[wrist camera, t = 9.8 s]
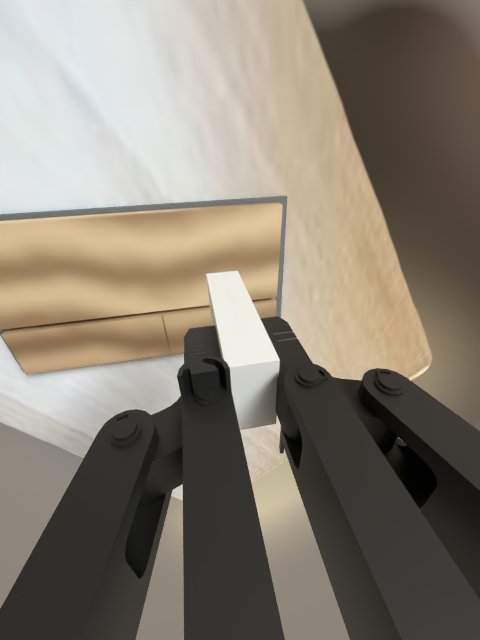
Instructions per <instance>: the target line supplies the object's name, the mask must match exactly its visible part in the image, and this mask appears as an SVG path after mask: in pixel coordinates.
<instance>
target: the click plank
mask: <svg viewBox="0 0 480 640" xmlns="http://www.w3.org/2000/svg"><path fill="white" fill-rule="evenodd" d="M282 208H283V205H282V204H281V203H280V202H272V203H257V204H242V205H227V206H213V207H198V208H183V209H169V210H154V211H139V212H125V213H110V214H95V215H80V216H66V217H51V218H36V219H22V220H7V221H0V330H3V329H11V328H20V327H28V326H37V325H45V324H54V323H62V322H71V321H79V320H88V319H96V318H105V317H113V316H122V315H130V314H139V313H147V312H156V311H164V310H173V309H181V308H190V307H198V306H207V305H210V304H209V295H208V285H207V276H206V274H209V273H219V272H229V271H238V272H239V274H240V277H241V279H242V281H243V283H244V285H245V287H246V289H247V291H248V294H249V296H250V298H251V300H257V299H266V298H274V297H277V287H278V271H279V255H280V240H281V224H282Z"/></svg>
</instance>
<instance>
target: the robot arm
mask: <svg viewBox="0 0 480 640" xmlns="http://www.w3.org/2000/svg"><path fill="white" fill-rule="evenodd" d="M206 276H207V285H208V295H209V304H210V314H211V323H212V326H205V327H197V328H189V330H188V331H187V333H186V335H185V336H184V364H183V366H182V367H181V368H180V369H179V372H178V375H177V378H178V383H179V387H180V392H181V397H180V398H179V399H178V400H177V401H176V402H175V403H174V404H173V405H171V406H170V407H168V408H166V409H164V410H162V411H160V412H158V413H155V414H153V415H150V414H148V413H147V412H146V411H142V410H137V409H136V410H128V411H124V412H122V413H120V414H117V415H115V416H114V417H113V418H111V419H110V420H109V421H107V422H106V423H105V424H104V426H103V427H102V428H101V430H100V431H99V432H98V434H97V436H96V438H95V440H94V441H93V443H92V445H91V447H90V449H89V450H88V452H87V454H86V456H85V458H84V459H83V461H82V463H81V465H80V467H79V468H78V470H77V472H76V474H75V476H74V477H73V479H72V481H71V483H70V485H69V487H68V488H67V490H66V492H65V494H64V495H63V497H62V499H61V501H60V503H59V504H58V506H57V508H56V510H55V512H54V513H53V515H52V517H51V519H50V521H49V522H48V524H47V526H46V528H45V530H44V531H43V533H42V535H41V537H40V539H39V541H38V542H37V544H36V546H35V548H34V549H33V551H32V553H31V555H30V557H29V558H28V560H27V562H26V564H25V566H24V567H23V569H22V571H21V573H20V575H19V576H18V578H17V580H16V582H15V584H14V585H13V587H12V589H11V591H10V593H9V595H8V596H7V598H6V600H5V602H4V604H3V605H2V607H1V609H0V640H135V639H136V635H137V631H138V627H139V623H140V619H141V614H142V611H143V607H144V603H145V599H146V595H147V590H148V587H149V583H150V578H151V574H152V570H153V566H154V562H155V558H156V554H157V550H158V546H159V541H160V538H161V534H162V530H163V526H164V521H165V517H166V514H167V509H168V506H169V501H170V497H171V493H172V490H173V489H175V488H176V487H178V486H180V485H181V484H183V549H184V551H183V554H184V640H285V639H284V634H283V630H282V625H281V620H280V616H279V611H278V606H277V602H276V597H275V592H274V587H273V583H272V578H271V573H270V569H269V564H268V559H267V555H266V550H265V545H264V541H263V536H262V531H261V527H260V522H259V517H258V513H257V508H256V503H255V499H254V494H253V489H252V485H251V480H250V475H249V470H248V466H247V461H246V456H245V452H244V447H243V442H242V438H241V433H240V430H243V429H248V428H254V427H259V426H265V425H270V424H276V414H277V416H278V418H279V421H280V424H281V432H280V444H279V448H280V454H281V453H284V449H285V451H286V454H287V457H288V460H289V463H290V466H291V469H292V472H293V475H294V478H295V480H296V483H297V486H298V489H299V492H300V495H301V498H302V501H303V504H304V507H305V510H306V513H307V515H308V518H309V521H310V524H311V527H312V530H313V533H314V536H315V539H316V542H317V545H318V547H319V550H320V553H321V556H322V559H323V562H324V565H325V568H326V571H327V574H328V577H329V579H330V582H331V585H332V588H333V591H334V594H335V597H336V600H337V603H338V606H339V608H340V611H341V614H342V617H343V620H344V623H345V626H346V629H347V632H348V635H349V638H350V640H480V431H479V430H477V429H476V428H474V427H473V426H472V425H470V424H469V423H468V422H466V421H465V420H463V419H462V418H461V417H459V416H458V415H456V414H455V413H454V412H453V411H451V410H450V409H448V408H447V407H446V406H444V405H443V404H442V403H440V402H439V401H437V400H436V399H435V398H433V397H432V396H431V395H429V394H428V393H427V392H425V391H424V390H422V389H421V388H420V387H418V386H417V385H416V384H414V383H413V382H411V381H410V380H409V379H407V378H406V377H404V376H402V375H401V374H399V373H397V372H394V371H391V370H388V369H379V368H377V369H372V370H369V371H367V372H366V373H365V374H364V376H363V378H362V381H359V380H349V379H340V378H334V377H332V376H331V375H330V374H329V373H328V372H327V371H326V369H324V368H322V367H320V366H319V365H316V364H313V363H312V361H311V360H310V358H309V357H308V355H307V353H306V352H305V350H304V348H303V347H302V345H301V344H300V342H299V340H298V339H297V337H296V335H295V334H294V332H292V329H291V327H290V326H289V324H288V323H287V322H286V321H285V320H283V319H282V318H280V317H279V316H276V317H268V318H260V317H259V315H258V313H257V310H256V308H255V306H254V304H253V302H252V300H251V298H250V296H249V294H248V291H247V289H246V287H245V285H244V283H243V281H242V279H241V277H240V274H239V272H238V271H229V272H219V273H209V274H206ZM398 437H399V438H400V439H401V440H402V441H401V440H400V439H399V438H398Z"/></svg>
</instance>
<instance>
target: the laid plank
mask: <svg viewBox="0 0 480 640" xmlns="http://www.w3.org/2000/svg"><path fill="white" fill-rule="evenodd" d="M252 302H253V304H254V306H255V308H256V310H257V313H258V315H259V317H260V318H268V317H276V304H277V302H276V300H275V298H266V299H257V300H252ZM205 326H212V323H211V314H210V305H207V306H198V307H190V308H181V309H173V310H164V311H156V312H147V313H139V314H130V315H122V316H113V317H105V318H96V319H88V320H79V321H71V322H62V323H54V324H45V325H37V326H28V327H20V328H11V329H6V330H5V331H4V332H3V333H2V334H1V335H2V337H3V339H4V340H5V342H6V343H7V345H8V347H9V348H10V350H11V352H12V353H13V355H14V356H15V358H16V360H17V361H18V363H19V364H20V366H21V368H22V369H23V371H24V372H25V374H26V375H27V374H34V373H41V372H49V371H56V370H63V369H70V368H77V367H84V366H91V365H99V364H106V363H113V362H120V361H127V360H134V359H142V358H149V357H156V356H163V355H171V354H177V353H184V336H185V335H186V333H187V331H188V330H189V328H197V327H205Z"/></svg>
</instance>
